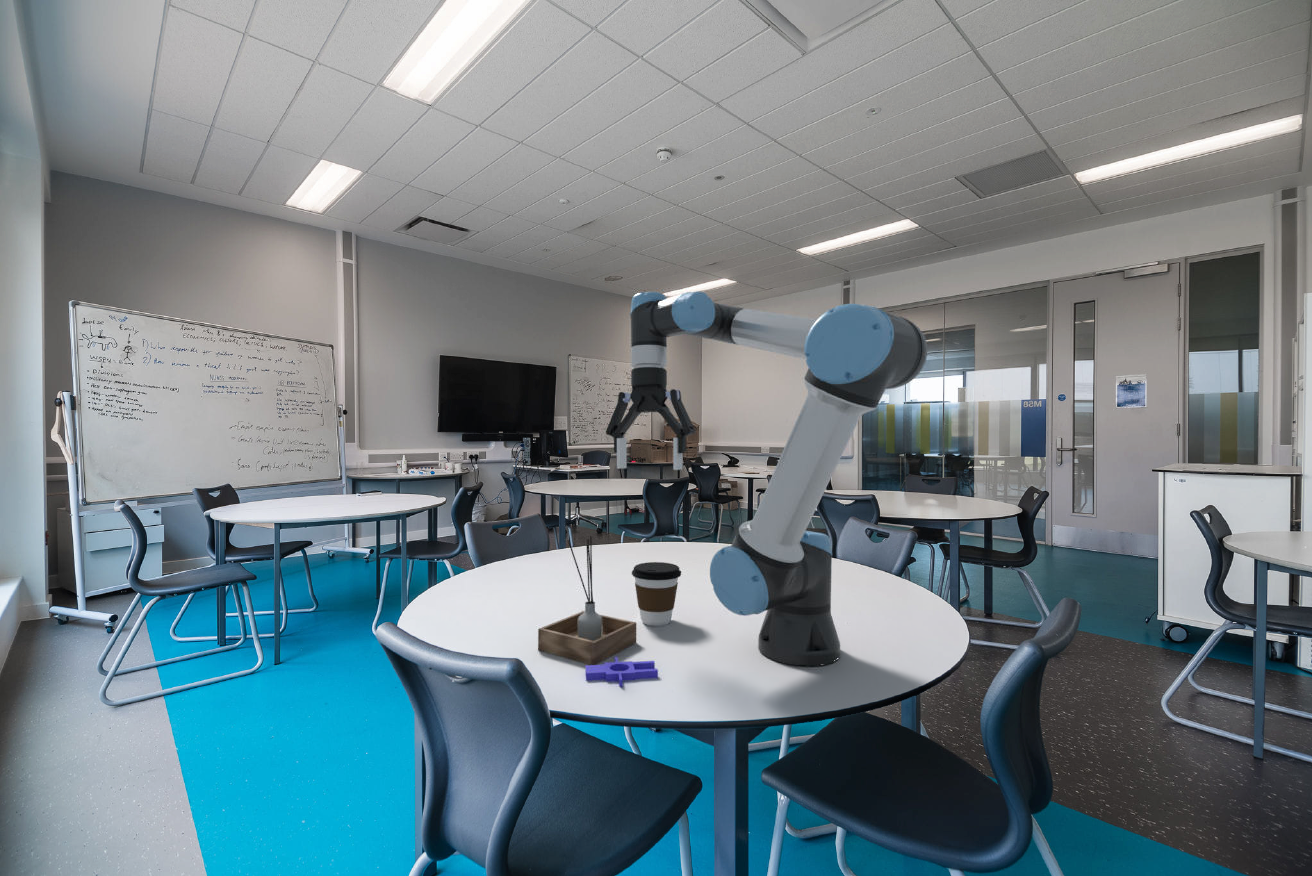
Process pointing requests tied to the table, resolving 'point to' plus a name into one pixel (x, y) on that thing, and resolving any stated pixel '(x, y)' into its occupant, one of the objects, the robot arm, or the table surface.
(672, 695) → the table surface
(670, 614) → the coffee cup
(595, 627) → the reed diffuser
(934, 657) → the table surface
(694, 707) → the table surface
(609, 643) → the tray
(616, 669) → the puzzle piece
